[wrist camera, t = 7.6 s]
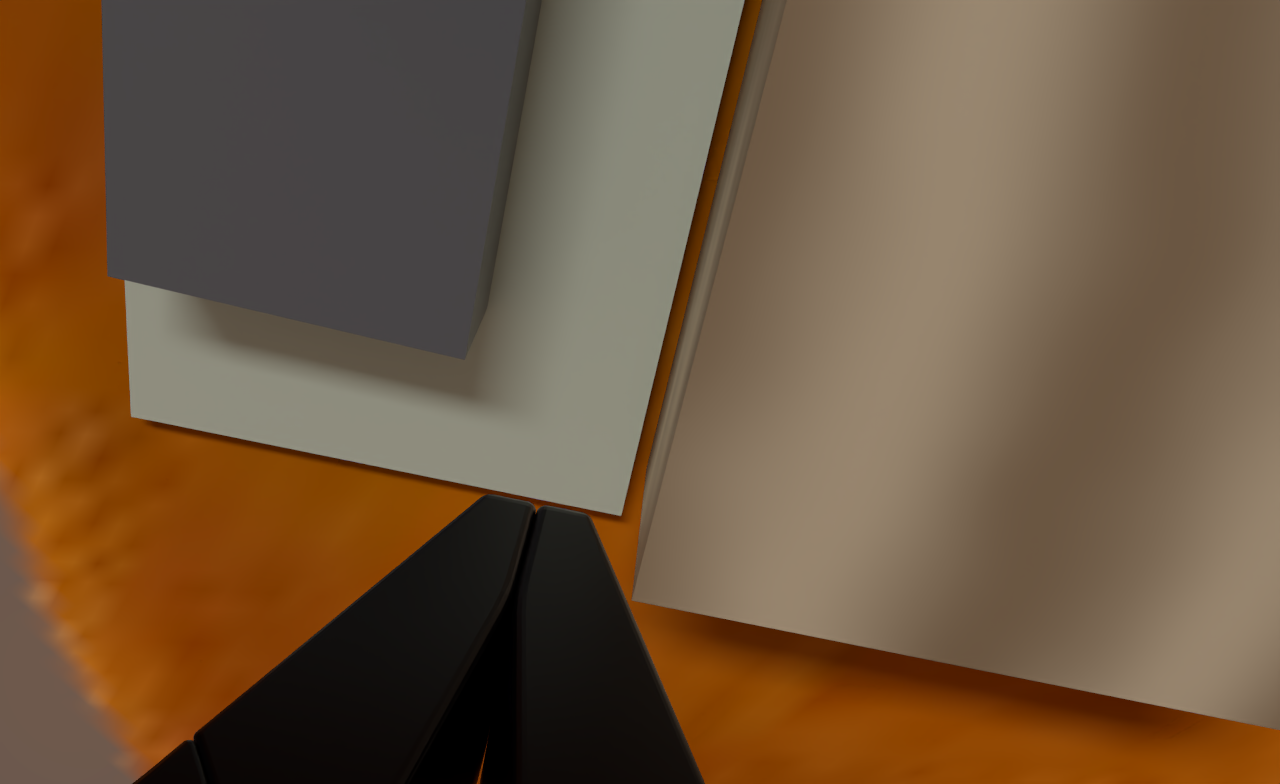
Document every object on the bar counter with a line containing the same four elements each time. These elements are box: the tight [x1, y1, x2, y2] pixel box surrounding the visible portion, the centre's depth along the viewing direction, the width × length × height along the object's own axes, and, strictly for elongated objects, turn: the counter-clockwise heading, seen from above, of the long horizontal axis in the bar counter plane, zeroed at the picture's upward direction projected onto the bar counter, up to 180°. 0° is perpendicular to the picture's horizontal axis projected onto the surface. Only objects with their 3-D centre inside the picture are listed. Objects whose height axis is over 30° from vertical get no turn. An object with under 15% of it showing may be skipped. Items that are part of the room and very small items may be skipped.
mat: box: [125, 0, 745, 516], centre depth 18 cm, size 10×16×1 cm, turn 168°
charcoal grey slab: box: [102, 0, 542, 360], centre depth 17 cm, size 6×9×2 cm, turn 167°
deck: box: [632, 0, 1280, 730], centre depth 17 cm, size 12×14×4 cm
